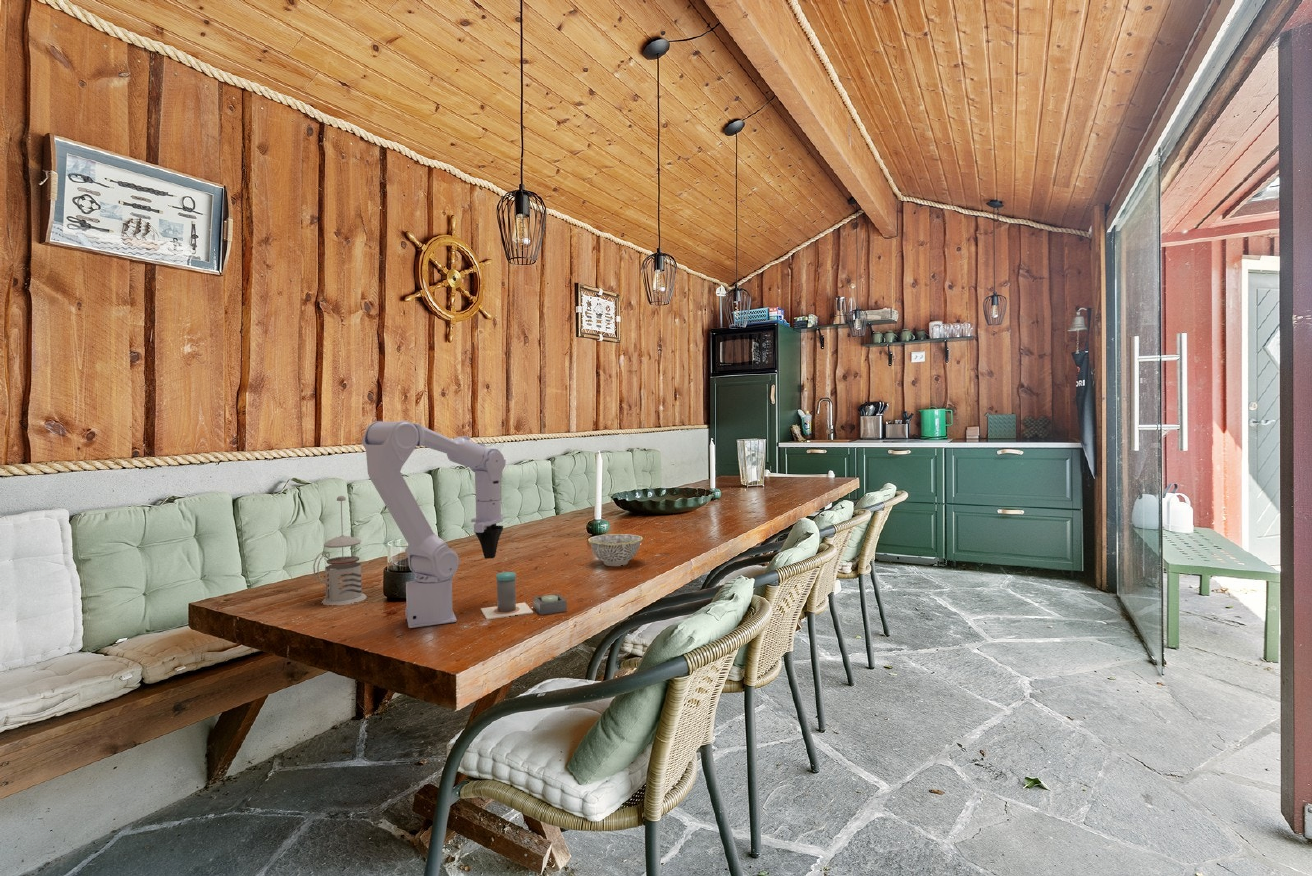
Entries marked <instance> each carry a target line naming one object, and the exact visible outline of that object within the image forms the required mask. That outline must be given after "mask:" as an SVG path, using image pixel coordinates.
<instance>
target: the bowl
mask: <svg viewBox="0 0 1312 876" xmlns="http://www.w3.org/2000/svg"><path fill="white" fill-rule="evenodd" d="M643 539H644V537H642V535H641V536H640V535H638V534H637V535H636V534H629V533H627V534H626V533H624V534H623V533H614V534H613V533H612V534H610V533H609V534H601V535H595V536H592V537H589V538H588V539H587V540H588V543H589V545H590V548H591V550H592V552H593V554H594V556H595V557H596V558H597V559H598V560H600V561H601V562H603V564H604V566H607V567H621V565H623V566H626V565H628V564H629V561H630V560H632V559H633V558H635V557H636V555H637V553H638V551H639V549H640V547H641V544H642V541H643Z"/></svg>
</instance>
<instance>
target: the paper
mask: <svg viewBox="0 0 1312 876" xmlns="http://www.w3.org/2000/svg"><path fill="white" fill-rule="evenodd" d="M480 611H481V613H482V614H483V616H484V618H485V619H486V620H487V621H488V620H495V619H504V618H509V616H511V617H516V616H515V615H518V616H524V615H530V614H534V610H532V608H531V607H530V606H529V605H528V604H527V603H526V602H519V603H516V610H515V611H512V612H506V613H503V612H498V611H497V606H496V605H495V606H490V607H481V608H480Z"/></svg>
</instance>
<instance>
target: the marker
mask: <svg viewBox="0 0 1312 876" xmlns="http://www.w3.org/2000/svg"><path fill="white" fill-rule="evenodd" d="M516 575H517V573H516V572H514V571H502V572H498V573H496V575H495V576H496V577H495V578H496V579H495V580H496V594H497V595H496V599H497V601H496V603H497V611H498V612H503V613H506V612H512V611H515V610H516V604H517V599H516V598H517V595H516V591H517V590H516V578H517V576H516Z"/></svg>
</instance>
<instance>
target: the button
mask: <svg viewBox="0 0 1312 876" xmlns="http://www.w3.org/2000/svg"><path fill="white" fill-rule="evenodd" d="M542 596H543V597H542V603H545V602H553V601H558V596H555V594H547V595H542Z"/></svg>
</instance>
